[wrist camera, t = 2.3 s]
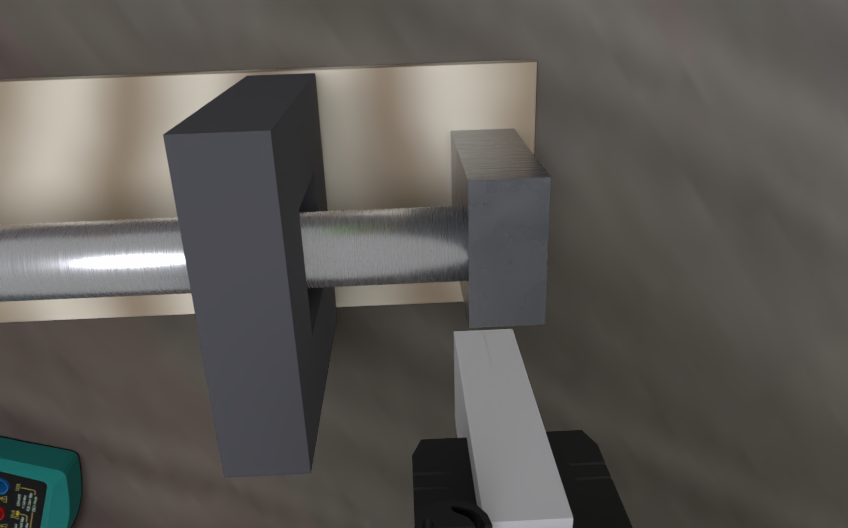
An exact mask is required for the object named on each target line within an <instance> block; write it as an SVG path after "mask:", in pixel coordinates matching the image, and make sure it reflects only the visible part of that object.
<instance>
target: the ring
mask: <svg viewBox="0 0 848 528" xmlns="http://www.w3.org/2000/svg"><path fill="white" fill-rule="evenodd" d="M163 138H164V144H165V149H166V155H167V160H168V166H169V172H170V177H171V183H172V188H173V194H174V200H175V205H176V211H177V216H178V222H179V228H180V233H181V239H182V244H183V250H184V256H185V261H186V267H187V272H188V278H189V283H190V289H191V295H192V300H193V306H194V311H195V317H196V323H197V328H198V334H199V339H200V345H201V351H202V356H203V362H204V367H205V373H206V378H207V384H208V390H209V395H210V401H211V406H212V412H213V418H214V423H215V429H216V434H217V440H218V446H219V451H220V457H221V462H222V468H223V473H224V478H227V477H246V476H266V475H285V474H305V473H311V469H312V463H313V457H314V451H315V445H316V439H317V433H318V427H319V421H320V415H321V409H322V403H323V397H324V391H325V385H326V379H327V373H328V367H329V361H330V355H331V349H332V343H333V337H334V331H335V325H336V319H337V310H336V298H335V287H322V288H307V282H306V272H305V263H304V253H303V244H302V235H301V225H300V216H299V212H319V211H328V209H327V198H326V187H325V176H324V164H323V153H322V142H321V131H320V120H319V109H318V98H317V86H316V75H315V73H304V74H277V75H250V76H246V77H244V78H243V79H241V80H240V81H239V82H237V83H236V84H234V85H233V86H231V87H230V88H229V89H227V90H226V91H224V92H223V93H221V94H220V95H219V96H217V97H216V98H214V99H213V100H212V101H210V102H209V103H207V104H206V105H204V106H203V107H202V108H200V109H199V110H197V111H196V112H194V113H193V114H192V115H190V116H189V117H187V118H186V119H185V120H183V121H182V122H180V123H179V124H177V125H176V126H175V127H173V128H172V129H170V130H169V131H167V132H166V133H165V134H163Z"/></svg>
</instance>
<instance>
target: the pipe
mask: <svg viewBox="0 0 848 528" xmlns="http://www.w3.org/2000/svg"><path fill="white" fill-rule="evenodd" d="M451 185H452V206H438V207H414V208H390V209H366V210H342V211H319V212H299V216H300V225H301V235H302V244H303V253H304V263H305V272H306V282H307V288H322V287H344V286H367V285H389V284H412V283H434V282H457V281H459V282H460V287H461V292H462V296H463V301H464V306H465V311H466V315H467V320H468V325H469V328H482V327H503V326H525V325H545V311H546V287H547V263H548V239H549V215H550V191H551V176H550V175H549V174H548V173H547V171H546V170H545V169H544V167H543V166H542V165H541V163H540V162H539V161H538V159H537V158H536V157H535V155H534V154H533V153H532V151H531V150H530V149H529V148H528V146H527V145H526V144H525V142H524V141H523V140H522V138H521V137H520V136H519V134H518V133H517V132H516V130H515V129H514V128H507V129H482V130H456V131H451ZM187 293H191V289H190V283H189V278H188V272H187V267H186V261H185V256H184V250H183V244H182V239H181V233H180V228H179V222H178V217H175V218H152V219H128V220H104V221H80V222H56V223H32V224H9V225H0V302H8V301H30V300H52V299H75V298H97V297H120V296H142V295H165V294H187Z"/></svg>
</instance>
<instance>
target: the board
mask: <svg viewBox="0 0 848 528" xmlns="http://www.w3.org/2000/svg"><path fill="white" fill-rule="evenodd" d="M304 73H315V75H316V86H317V98H318V109H319V120H320V131H321V142H322V153H323V164H324V176H325V187H326V198H327V209H328V211H342V210H366V209H390V208H414V207H438V206H452V185H451V131H456V130H482V129H507V128H514V129H515V130H516V132H517V133H518V134H519V136H520V137H521V138H522V140H523V141H524V142H525V144H526V145H527V146H528V148H529V149H530V150H531V151H532V153H533V154H534V137H535V105H536V73H537V62H536V61H534V60H533V59H531V60H504V61H477V62H450V63H423V64H396V65H369V66H342V67H315V68H288V69H261V70H234V71H207V72H180V73H153V74H126V75H99V76H72V77H45V78H18V79H0V225H9V224H32V223H56V222H80V221H104V220H128V219H152V218H175V217H178V216H177V211H176V205H175V200H174V194H173V188H172V183H171V177H170V172H169V166H168V160H167V155H166V149H165V144H164V138H163V134H165V133H166V132H167V131H169V130H170V129H172V128H173V127H175V126H176V125H177V124H179V123H180V122H182V121H183V120H185V119H186V118H187V117H189V116H190V115H192V114H193V113H194V112H196V111H197V110H199V109H200V108H202V107H203V106H204V105H206V104H207V103H209V102H210V101H212V100H213V99H214V98H216V97H217V96H219V95H220V94H221V93H223V92H224V91H226V90H227V89H229V88H230V87H231V86H233V85H234V84H236V83H237V82H239V81H240V80H241V79H243V78H244V77H246V76H250V75H277V74H304ZM335 298H336V307H352V306H375V305H397V304H419V303H441V302H463V296H462V292H461V287H460V282H459V281H457V282H434V283H412V284H389V285H367V286H344V287H335ZM176 314H195V311H194V306H193V300H192V295H191V293H187V294H165V295H142V296H120V297H97V298H75V299H52V300H30V301H8V302H0V322H21V321H43V320H65V319H87V318H109V317H131V316H154V315H176Z"/></svg>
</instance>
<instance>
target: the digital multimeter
mask: <svg viewBox="0 0 848 528" xmlns="http://www.w3.org/2000/svg"><path fill="white" fill-rule="evenodd" d="M81 495H82V489H81V471H80V464H79V456H78V455H77V454H76V453H74V452H72V451H69V450H64V449H59V448H54V447H49V446H43V445H38V444H32V443H27V442H22V441H18V440H13V439H9V438H5V437H0V528H71V526H72V524H73V522H74V520H75V517H76V515H77V513H78V510H79V505H80V500H81Z"/></svg>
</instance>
